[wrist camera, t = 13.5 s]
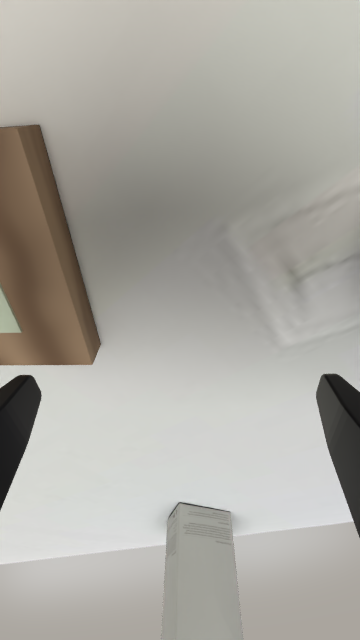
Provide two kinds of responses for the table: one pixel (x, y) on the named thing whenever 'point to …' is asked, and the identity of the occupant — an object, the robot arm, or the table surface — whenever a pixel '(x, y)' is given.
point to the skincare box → (200, 577)
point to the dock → (38, 263)
